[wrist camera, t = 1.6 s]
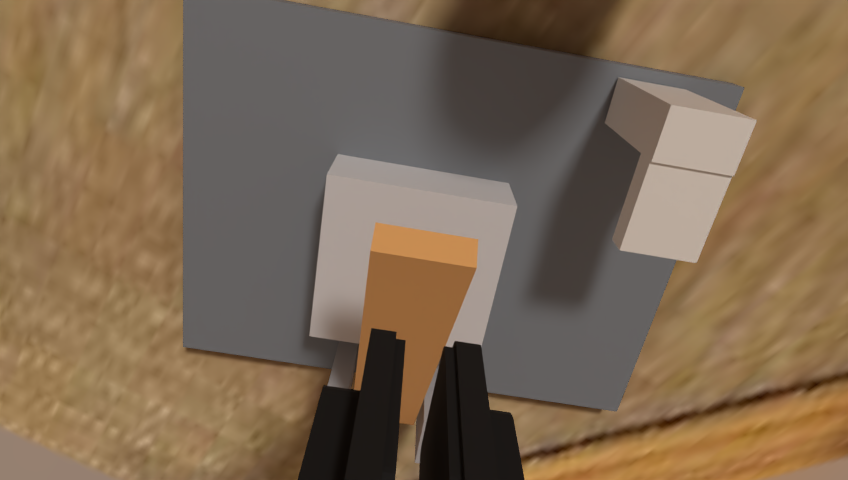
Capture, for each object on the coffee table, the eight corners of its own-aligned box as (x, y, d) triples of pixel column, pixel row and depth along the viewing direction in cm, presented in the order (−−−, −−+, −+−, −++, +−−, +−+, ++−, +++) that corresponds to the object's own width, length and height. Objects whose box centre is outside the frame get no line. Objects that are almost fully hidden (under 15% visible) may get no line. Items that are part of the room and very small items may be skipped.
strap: (477, 239, 17) (476, 267, 16) (415, 404, 28) (413, 425, 27) (375, 222, 17) (370, 250, 16) (354, 395, 28) (350, 415, 27)
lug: (685, 89, 25) (756, 120, 19) (644, 206, 27) (697, 264, 22) (618, 77, 25) (671, 105, 19) (582, 196, 27) (620, 251, 21)
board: (731, 83, 26) (819, 113, 20) (608, 404, 34) (645, 495, 28) (194, -17, 25) (118, -16, 19) (191, 341, 32) (137, 423, 26)
